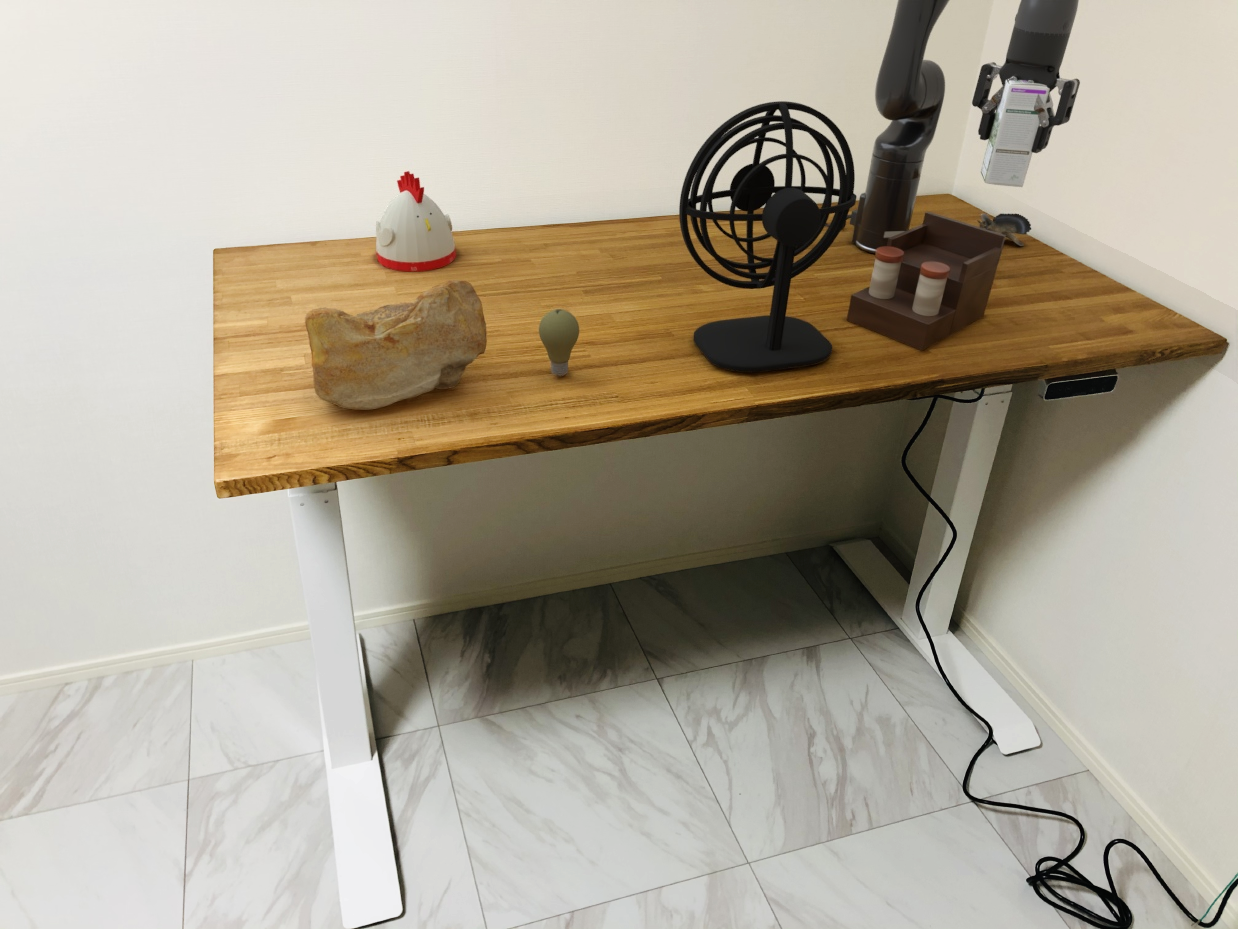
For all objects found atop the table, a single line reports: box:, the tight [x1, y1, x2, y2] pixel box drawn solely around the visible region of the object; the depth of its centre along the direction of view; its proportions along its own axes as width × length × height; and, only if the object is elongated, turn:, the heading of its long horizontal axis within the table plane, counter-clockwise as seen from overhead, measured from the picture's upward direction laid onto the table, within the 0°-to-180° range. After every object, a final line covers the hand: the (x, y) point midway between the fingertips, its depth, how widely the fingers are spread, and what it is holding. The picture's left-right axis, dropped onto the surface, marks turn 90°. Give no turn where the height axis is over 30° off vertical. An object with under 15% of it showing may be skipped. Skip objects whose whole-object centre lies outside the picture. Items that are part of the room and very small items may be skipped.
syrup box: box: [980, 79, 1050, 188], centre depth 137 cm, size 6×6×14 cm
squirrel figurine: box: [977, 213, 1032, 247], centre depth 180 cm, size 8×7×9 cm
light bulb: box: [538, 308, 580, 378], centre depth 130 cm, size 6×6×10 cm
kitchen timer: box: [375, 170, 457, 272], centre depth 163 cm, size 14×14×15 cm
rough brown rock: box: [304, 279, 488, 411], centre depth 126 cm, size 23×17×15 cm
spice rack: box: [846, 211, 1007, 351], centre depth 148 cm, size 19×14×14 cm
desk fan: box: [678, 100, 857, 373], centre depth 132 cm, size 27×18×35 cm, turn 107°
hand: (1010, 145), depth 138 cm, fingers closed on syrup box, 7 cm apart
